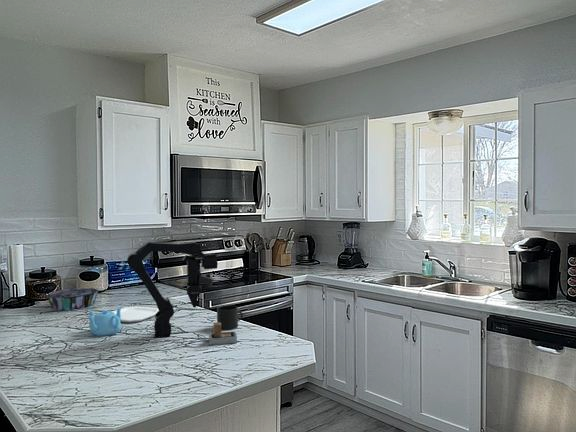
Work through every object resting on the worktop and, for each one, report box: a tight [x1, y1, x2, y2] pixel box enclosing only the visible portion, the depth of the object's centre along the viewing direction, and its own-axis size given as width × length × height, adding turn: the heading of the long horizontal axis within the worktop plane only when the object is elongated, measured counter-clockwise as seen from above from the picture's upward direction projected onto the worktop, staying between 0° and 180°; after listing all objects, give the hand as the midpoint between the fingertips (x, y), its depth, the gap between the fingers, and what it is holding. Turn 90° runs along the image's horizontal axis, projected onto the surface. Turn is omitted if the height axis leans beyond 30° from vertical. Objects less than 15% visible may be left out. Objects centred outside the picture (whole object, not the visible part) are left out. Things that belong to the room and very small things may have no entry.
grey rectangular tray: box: [208, 331, 238, 346], centre depth 193 cm, size 11×8×2 cm
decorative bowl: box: [45, 287, 100, 312], centre depth 261 cm, size 26×28×10 cm
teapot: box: [86, 305, 123, 337], centre depth 208 cm, size 15×15×10 cm
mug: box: [216, 305, 244, 331], centre depth 214 cm, size 9×12×9 cm
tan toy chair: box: [213, 322, 231, 338], centre depth 193 cm, size 7×4×7 cm, turn 102°
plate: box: [111, 305, 159, 324], centre depth 237 cm, size 25×25×2 cm
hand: (194, 305), depth 207 cm, fingers open, 9 cm apart
